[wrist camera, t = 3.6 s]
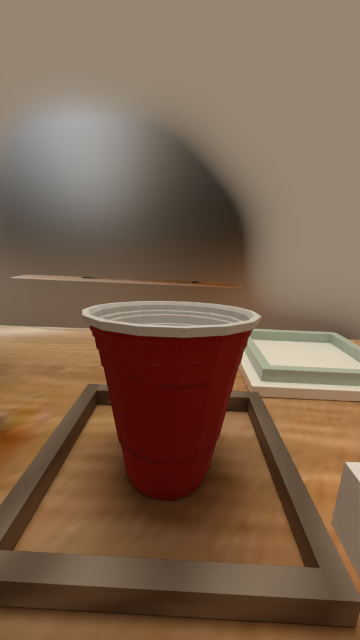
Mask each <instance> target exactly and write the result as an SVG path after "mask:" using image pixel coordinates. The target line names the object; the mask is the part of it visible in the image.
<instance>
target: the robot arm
mask: <svg viewBox="0 0 360 640" xmlns="http://www.w3.org/2000/svg"><path fill="white" fill-rule="evenodd" d="M331 524H332V526H333V528H334V530H335V532H336V533H337V535H338V537H339V539H340V541H341V543H342V545H343V547H344V549H345V551H346V553H347V555H348V556H349V558H350V560H351V562H352V564H353V566H354V568H355V570H356V572H357V574H358V576H359V578H360V463H356V462H345V464H344V469H343V473H342V478H341V482H340V486H339V491H338V495H337V500H336V504H335V509H334V513H333V518H332V522H331Z"/></svg>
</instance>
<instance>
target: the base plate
mask: <svg viewBox="0 0 360 640" xmlns="http://www.w3.org/2000/svg"><path fill="white" fill-rule="evenodd" d="M238 367H239V369H240V372H241V374H242V376H243V379H244V381H245V383H246V386H247V388H248V390H249V392H259V394H260V396H261V397H278V398H299V399H320V400H340V401H360V346H358V345H356V344H354V343H353V342H351V341H349V340H347V339H346V338H344V337H342V336H340V335H338V334H337V333H334V332H333V333H332V332H310V331H289V330H266V329H254V330H252V332H251V335H250V336H249V339H248V343H247V347H246V348H245V349H244V353H243V357H242V360H241V364H240V365H239V366H238Z"/></svg>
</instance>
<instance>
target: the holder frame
mask: <svg viewBox="0 0 360 640" xmlns="http://www.w3.org/2000/svg"><path fill="white" fill-rule="evenodd" d="M97 404H109V405H111V401H110V396H109V391H108V386H107V385H99V384H88V385H87V387H86V388H85V390H84V391H83V392H82V394H81V395H80V396H79V398H78V399H77V401H76V402H75V403H74V405H73V406H72V407H71V409H70V410H69V412H68V413H67V414H66V416H65V417H64V418H63V420H62V421H61V423H60V424H59V425H58V427H57V428H56V429H55V431H54V432H53V434H52V435H51V436H50V438H49V439H48V440H47V442H46V443H45V445H44V446H43V447H42V449H41V450H40V452H39V453H38V454H37V456H36V457H35V458H34V460H33V461H32V463H31V464H30V465H29V467H28V468H27V469H26V471H25V472H24V474H23V475H22V476H21V478H20V479H19V480H18V482H17V483H16V485H15V486H14V487H13V489H12V490H11V491H10V493H9V494H8V496H7V497H6V498H5V500H4V501H3V502H2V504H1V505H0V606H10V607H27V608H44V609H61V610H77V611H94V612H111V613H128V614H145V615H162V616H179V617H196V618H213V619H229V620H246V621H263V622H280V623H297V624H314V625H331V626H348V627H356V624H357V620H358V616H359V613H360V596H359V594H358V592H357V590H356V587H355V585H354V583H353V581H352V579H351V577H350V575H349V573H348V571H347V569H346V567H345V565H344V563H343V561H342V559H341V557H340V555H339V553H338V551H337V549H336V547H335V545H334V543H333V541H332V539H331V537H330V535H329V533H328V531H327V529H326V527H325V525H324V523H323V521H322V519H321V517H320V515H319V513H318V511H317V509H316V507H315V505H314V503H313V501H312V499H311V497H310V495H309V493H308V491H307V489H306V487H305V485H304V483H303V481H302V479H301V477H300V475H299V473H298V471H297V469H296V467H295V465H294V463H293V461H292V459H291V457H290V455H289V453H288V451H287V449H286V447H285V444H284V442H283V440H282V438H281V436H280V434H279V432H278V430H277V428H276V426H275V424H274V422H273V420H272V418H271V416H270V414H269V412H268V410H267V408H266V406H265V404H264V402H263V400H262V398H261V396H260V394H259V392H245V391H232V392H231V395H230V399H229V403H228V406H227V410H232V411H248V413H249V416H250V419H251V422H252V424H253V427H254V430H255V432H256V435H257V438H258V440H259V443H260V446H261V448H262V451H263V454H264V456H265V459H266V462H267V465H268V467H269V470H270V473H271V475H272V478H273V481H274V483H275V486H276V489H277V491H278V494H279V497H280V500H281V502H282V505H283V508H284V510H285V513H286V516H287V518H288V521H289V524H290V526H291V529H292V532H293V534H294V537H295V540H296V543H297V545H298V548H299V551H300V553H301V556H302V559H303V561H304V564H305V567H292V566H274V565H257V564H239V563H221V562H203V561H186V560H168V559H150V558H133V557H115V556H97V555H79V554H62V553H44V552H26V551H12V550H13V548H14V547H15V545H16V543H17V541H18V540H19V538H20V536H21V534H22V533H23V531H24V529H25V528H26V526H27V524H28V522H29V521H30V519H31V517H32V515H33V514H34V512H35V510H36V508H37V507H38V505H39V503H40V502H41V500H42V498H43V496H44V495H45V493H46V491H47V489H48V488H49V486H50V484H51V483H52V481H53V479H54V477H55V476H56V474H57V472H58V470H59V469H60V467H61V465H62V464H63V462H64V460H65V458H66V457H67V455H68V453H69V451H70V450H71V448H72V446H73V445H74V443H75V441H76V439H77V438H78V436H79V434H80V432H81V431H82V429H83V427H84V426H85V424H86V422H87V420H88V419H89V417H90V415H91V413H92V412H93V410H94V408H95V406H96V405H97Z"/></svg>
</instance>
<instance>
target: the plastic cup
mask: <svg viewBox="0 0 360 640" xmlns="http://www.w3.org/2000/svg"><path fill="white" fill-rule="evenodd" d="M82 313H83V318H84V321H85V323H86V324H88V325H90V330H91V331H92V334H93V336H94V337H95V342H96V347H97V349H99V354H100V359H101V364H102V366H103V367H104V371H105V376H106V381H107V386H108V391H109V396H110V401H111V405H112V410H113V415H114V420H115V425H116V430H117V435H118V439H119V442H120V443H121V447H122V452H123V457H124V462H125V467H126V472H127V475H128V476H129V479H130V482H131V483H132V484H133V485H134V486H135V487H136V489H137V490H138V491H139V492H141V493H143V494H145V495H147V496H149V497H151V498H153V499H164V500H173V499H177V498H181V497H185V496H188V495H189V494H191V493H192V492H193V491H195V490H196V489H197V488H199V487H200V485H201V483H202V481H203V479H204V477H205V475H206V473H207V471H208V469H209V467H210V463H211V459H212V455H213V452H214V448H215V444H216V441H217V439H218V438H219V435H220V432H221V428H222V424H223V421H224V417H225V414H226V410H227V406H228V403H229V399H230V395H231V392H232V388H233V384H234V381H235V377H236V374H237V370H238V366H239V365H240V364H241V360H242V357H243V353H244V349H245V348H246V347H247V343H248V339H249V336H250V335H251V332H252V330H254V327H255V326H256V325H258V324H259V321H260V318H261V316H260V315H258V314H257V313H255V312H254V311H250V310H246V309H243V308H239V307H233V306H225V305H218V304H208V303H196V302H173V301H137V302H121V303H110V304H103V305H96V306H92V307H89V308H86V309H83V310H82Z"/></svg>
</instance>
